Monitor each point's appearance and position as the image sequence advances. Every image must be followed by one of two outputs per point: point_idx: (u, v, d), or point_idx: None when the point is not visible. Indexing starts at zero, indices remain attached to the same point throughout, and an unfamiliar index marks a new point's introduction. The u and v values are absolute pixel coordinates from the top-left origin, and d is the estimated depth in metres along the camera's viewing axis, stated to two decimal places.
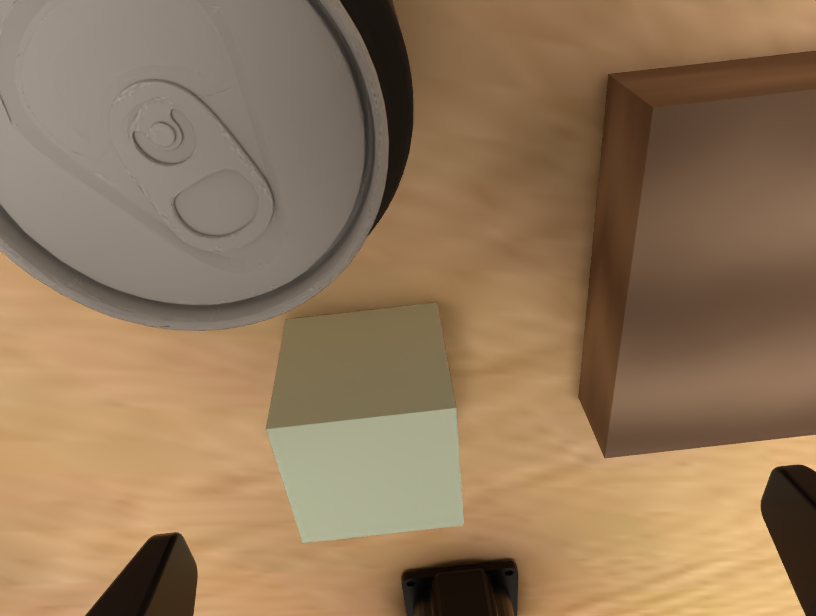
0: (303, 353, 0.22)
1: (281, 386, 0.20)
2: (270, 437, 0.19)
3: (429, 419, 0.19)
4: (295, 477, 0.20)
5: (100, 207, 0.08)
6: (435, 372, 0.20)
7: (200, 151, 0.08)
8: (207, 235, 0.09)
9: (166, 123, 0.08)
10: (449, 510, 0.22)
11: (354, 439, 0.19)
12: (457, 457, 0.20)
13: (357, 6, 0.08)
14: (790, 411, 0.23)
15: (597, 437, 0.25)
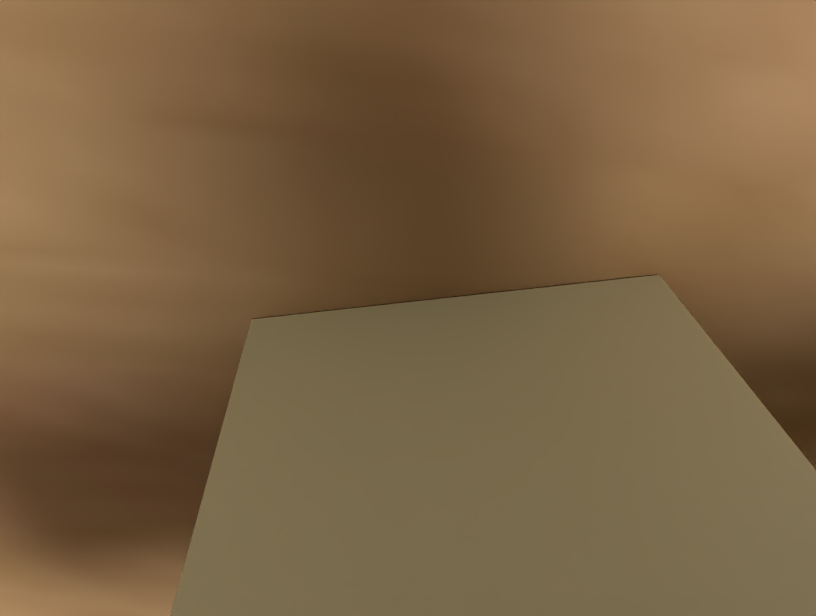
0: (296, 428, 0.07)
1: (211, 571, 0.05)
2: None
3: None
4: None
5: None
6: (798, 522, 0.05)
7: None
8: None
9: None
10: None
11: None
12: None
13: None
14: None
15: None
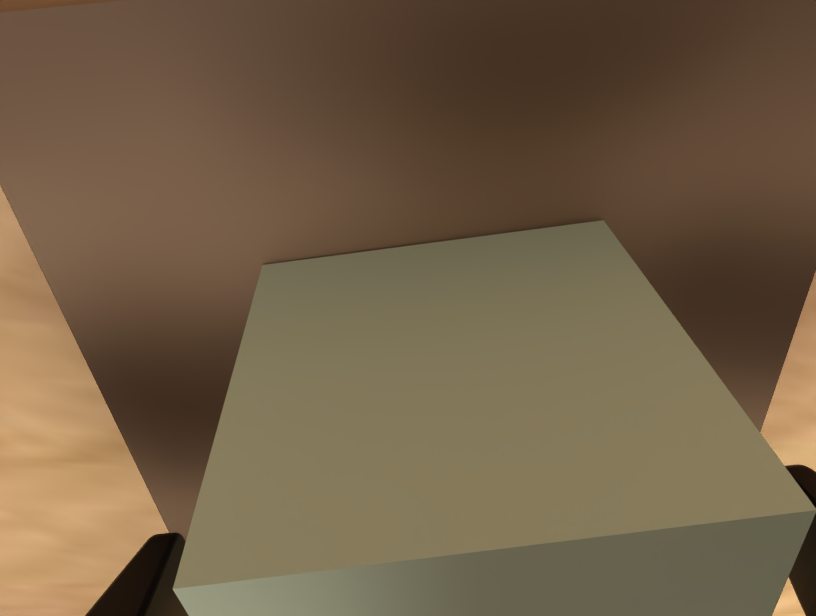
0: (300, 340, 0.09)
1: (237, 432, 0.07)
2: (191, 610, 0.06)
3: (716, 544, 0.06)
4: None
5: None
6: (680, 385, 0.07)
7: None
8: None
9: None
10: None
11: (461, 607, 0.06)
12: None
13: None
14: None
15: None
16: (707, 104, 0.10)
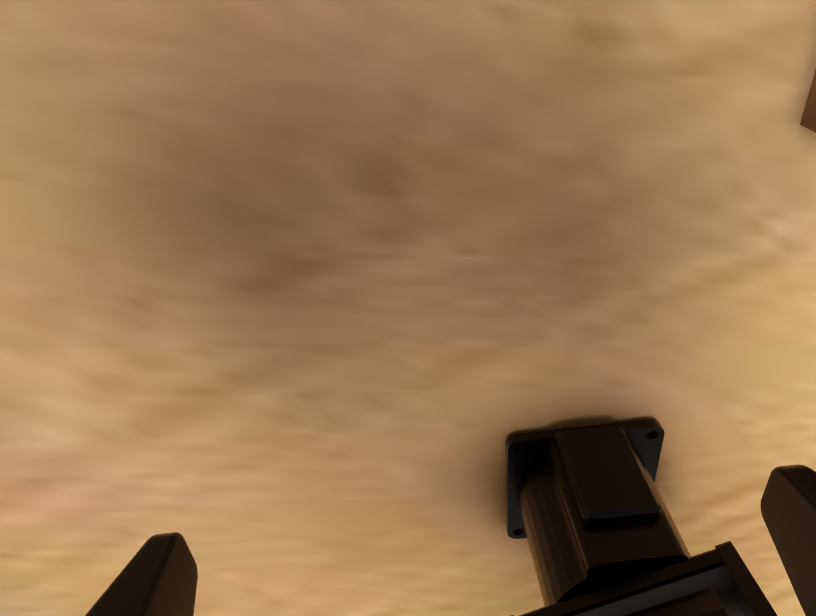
0: None
1: None
2: None
3: None
4: None
5: None
6: None
7: None
8: None
9: None
10: None
11: None
12: None
13: None
14: None
15: None
16: None
